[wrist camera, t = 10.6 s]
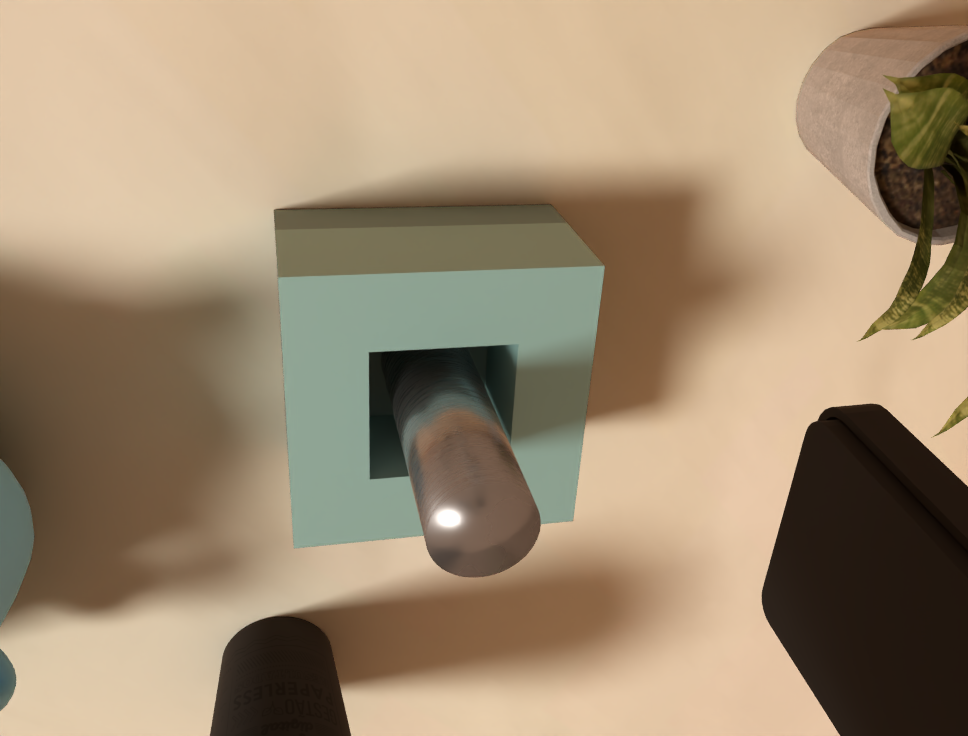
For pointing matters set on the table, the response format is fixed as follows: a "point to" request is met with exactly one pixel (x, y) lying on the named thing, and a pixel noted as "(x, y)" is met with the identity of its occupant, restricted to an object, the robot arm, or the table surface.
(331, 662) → the drinking cup
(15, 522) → the decorative pot
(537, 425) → the bore block
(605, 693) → the table surface
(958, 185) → the house plant
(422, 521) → the pin
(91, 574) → the table surface
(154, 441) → the table surface
